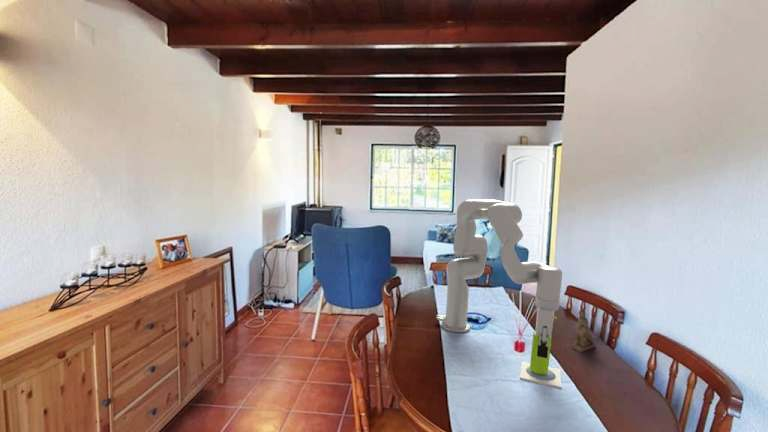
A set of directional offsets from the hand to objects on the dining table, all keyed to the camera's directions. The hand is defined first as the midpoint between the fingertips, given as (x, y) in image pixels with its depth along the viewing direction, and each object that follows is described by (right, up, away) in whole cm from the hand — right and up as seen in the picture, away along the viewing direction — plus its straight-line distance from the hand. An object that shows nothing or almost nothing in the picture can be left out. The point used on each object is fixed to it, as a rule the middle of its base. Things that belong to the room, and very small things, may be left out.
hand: (542, 352), depth 133 cm
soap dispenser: (0, -7, +1) cm, 7 cm away
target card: (0, -8, +1) cm, 8 cm away
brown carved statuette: (+28, -7, +26) cm, 39 cm away
